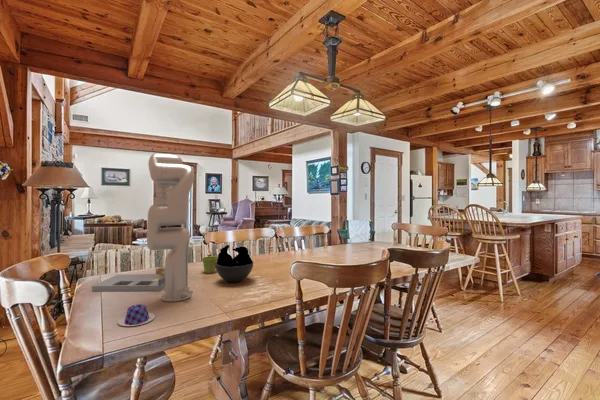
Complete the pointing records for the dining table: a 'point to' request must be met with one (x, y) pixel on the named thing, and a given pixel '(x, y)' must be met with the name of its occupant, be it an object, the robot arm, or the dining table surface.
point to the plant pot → (209, 264)
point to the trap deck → (131, 283)
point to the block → (160, 272)
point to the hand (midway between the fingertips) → (163, 228)
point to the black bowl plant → (234, 264)
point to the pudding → (136, 316)
